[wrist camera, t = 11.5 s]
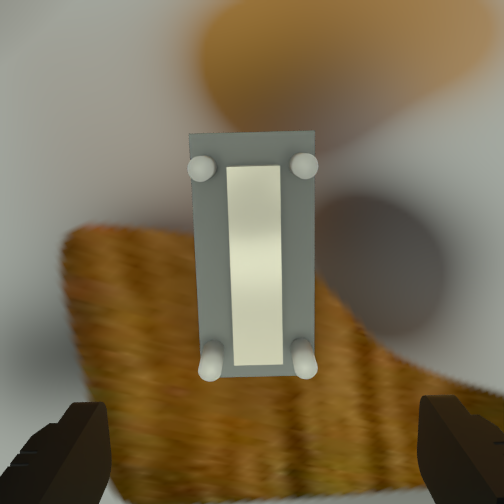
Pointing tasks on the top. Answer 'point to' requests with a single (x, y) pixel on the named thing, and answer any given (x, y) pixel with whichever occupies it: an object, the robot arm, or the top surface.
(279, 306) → the clay strip
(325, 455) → the top surface
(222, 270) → the grey pegged tray
